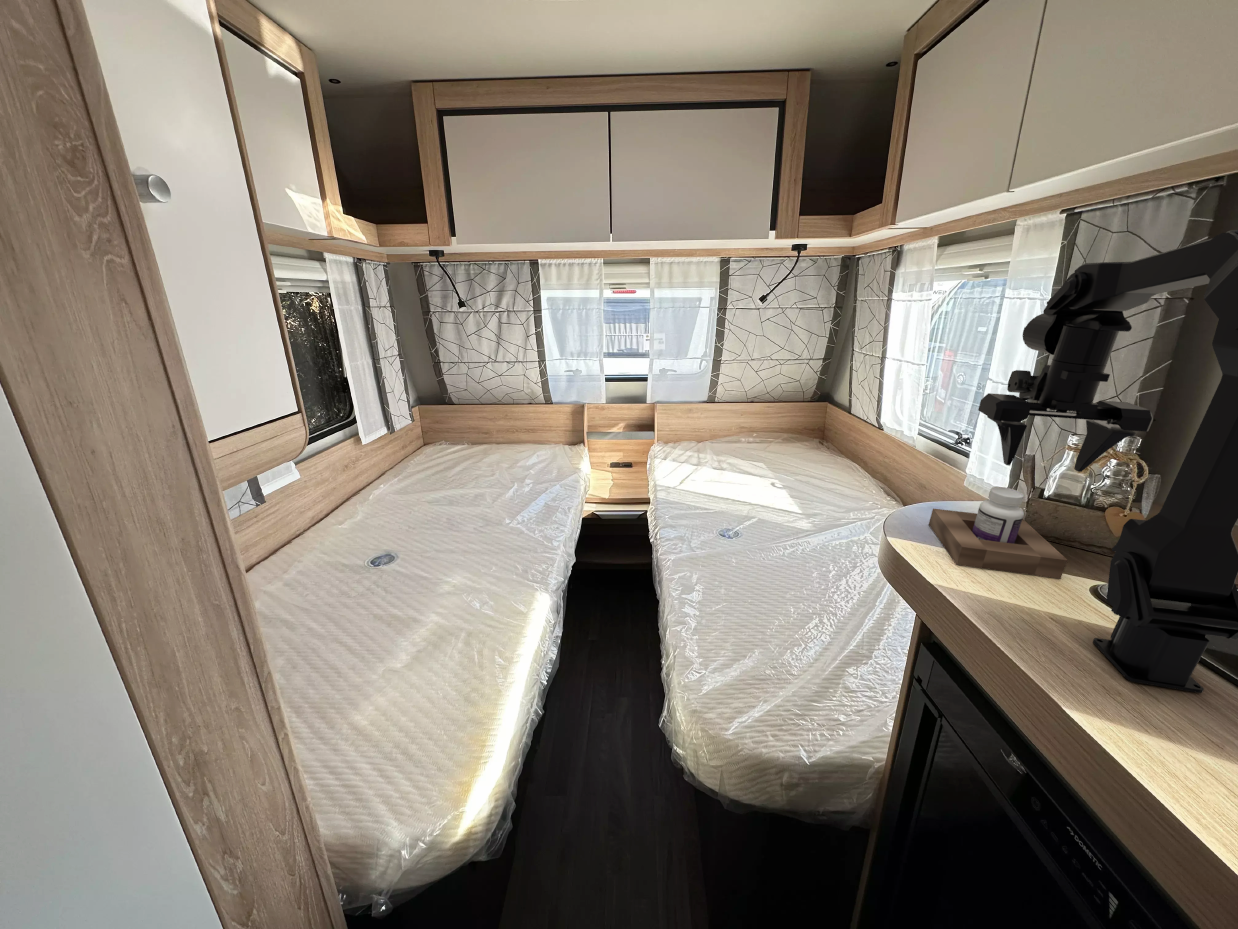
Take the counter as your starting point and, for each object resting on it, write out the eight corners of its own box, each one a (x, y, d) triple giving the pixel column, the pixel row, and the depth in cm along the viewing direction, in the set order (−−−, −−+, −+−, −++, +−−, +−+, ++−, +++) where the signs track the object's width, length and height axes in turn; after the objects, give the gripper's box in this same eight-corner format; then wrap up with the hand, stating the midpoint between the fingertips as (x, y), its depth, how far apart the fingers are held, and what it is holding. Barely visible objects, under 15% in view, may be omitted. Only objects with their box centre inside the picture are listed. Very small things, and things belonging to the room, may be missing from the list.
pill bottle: (997, 542, 80) (1015, 485, 77) (1018, 560, 75) (1039, 500, 72) (960, 539, 81) (977, 483, 77) (979, 557, 76) (998, 498, 72)
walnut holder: (1060, 578, 71) (1067, 560, 70) (956, 564, 74) (961, 546, 72) (1016, 535, 82) (1022, 518, 81) (928, 524, 85) (933, 508, 84)
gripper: (1118, 356, 75) (1081, 455, 81) (977, 349, 79) (951, 444, 84) (1177, 370, 65) (1130, 482, 71) (1012, 361, 68) (980, 468, 74)
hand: (1041, 467), depth 75 cm, fingers open, 9 cm apart
